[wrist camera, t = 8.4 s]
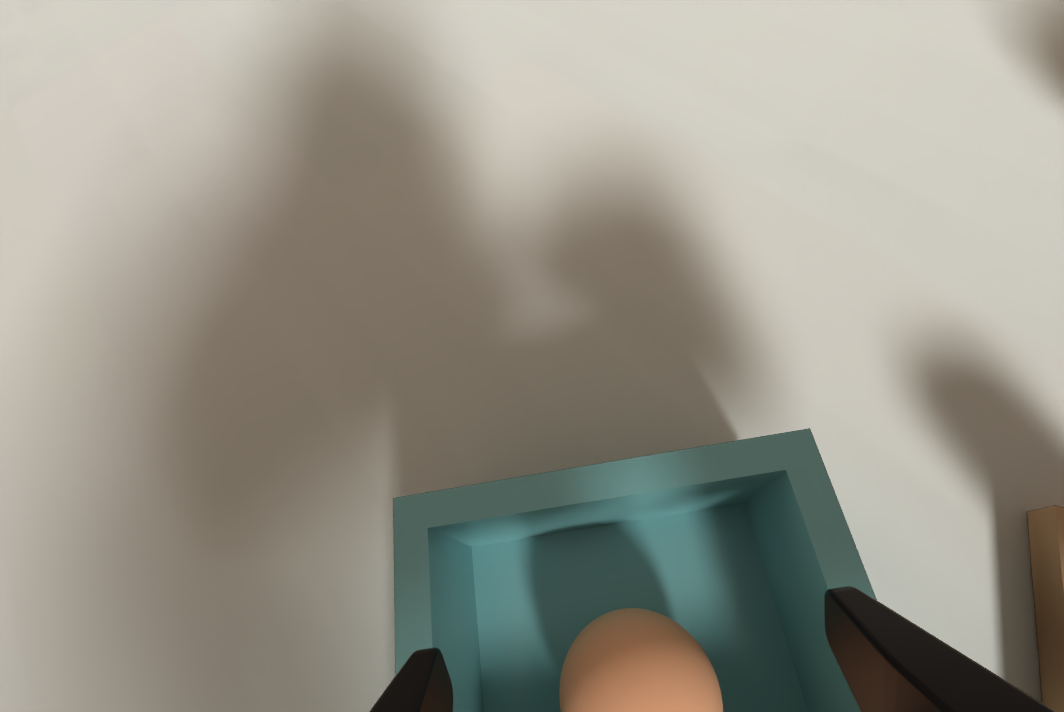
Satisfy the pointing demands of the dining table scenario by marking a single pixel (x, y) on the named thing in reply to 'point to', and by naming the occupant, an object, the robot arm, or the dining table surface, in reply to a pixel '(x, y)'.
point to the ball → (637, 667)
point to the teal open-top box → (633, 571)
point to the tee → (1049, 599)
